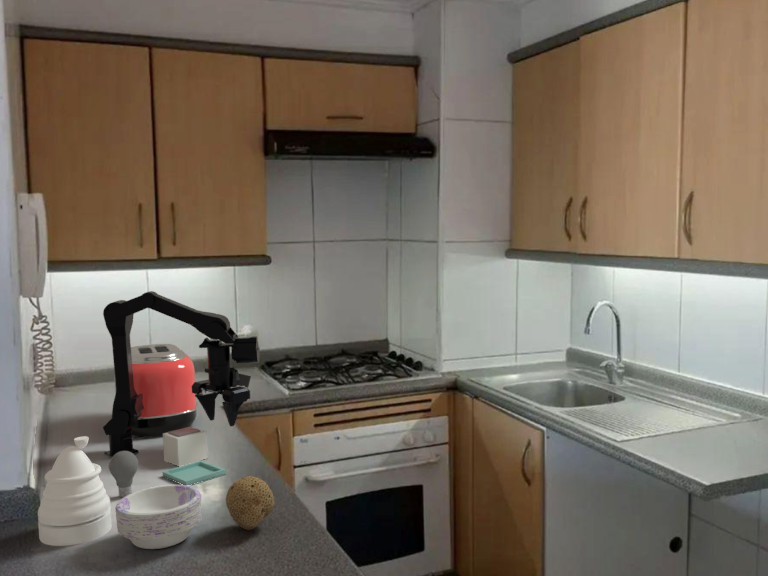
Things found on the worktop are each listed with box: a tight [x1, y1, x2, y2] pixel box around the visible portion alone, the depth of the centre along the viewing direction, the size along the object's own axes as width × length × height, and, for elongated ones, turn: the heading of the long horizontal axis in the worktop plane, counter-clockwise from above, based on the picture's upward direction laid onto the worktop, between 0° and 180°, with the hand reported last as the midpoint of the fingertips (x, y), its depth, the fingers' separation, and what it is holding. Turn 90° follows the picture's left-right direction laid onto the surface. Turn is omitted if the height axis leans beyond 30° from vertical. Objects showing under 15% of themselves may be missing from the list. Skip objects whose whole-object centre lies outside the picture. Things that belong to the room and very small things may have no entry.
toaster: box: [113, 343, 199, 439], centre depth 214 cm, size 32×23×23 cm
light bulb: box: [108, 451, 139, 498], centre depth 156 cm, size 6×6×10 cm
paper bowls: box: [115, 484, 203, 550], centre depth 134 cm, size 15×15×8 cm
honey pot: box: [37, 435, 113, 547], centre depth 138 cm, size 13×13×18 cm
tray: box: [162, 460, 227, 486], centre depth 169 cm, size 10×10×1 cm
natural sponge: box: [225, 475, 275, 531], centre depth 138 cm, size 9×9×10 cm
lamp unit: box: [162, 426, 208, 467], centre depth 180 cm, size 7×8×7 cm
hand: (221, 423), depth 188 cm, fingers open, 9 cm apart
